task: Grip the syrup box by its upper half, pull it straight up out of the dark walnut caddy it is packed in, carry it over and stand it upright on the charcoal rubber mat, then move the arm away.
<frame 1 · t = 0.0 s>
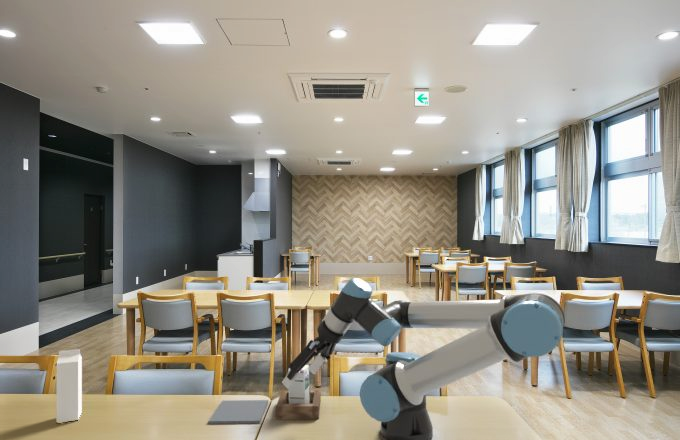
hand: (299, 378, 131), 15 cm above the table, tool tilted 35°, fingers open, 13 cm apart
syrup box: (299, 410, 145), resting in walnut caddy
milk: (69, 419, 139), on the table
walnut caddy: (299, 410, 145), on the table
charcoal mat: (240, 412, 143), on the table
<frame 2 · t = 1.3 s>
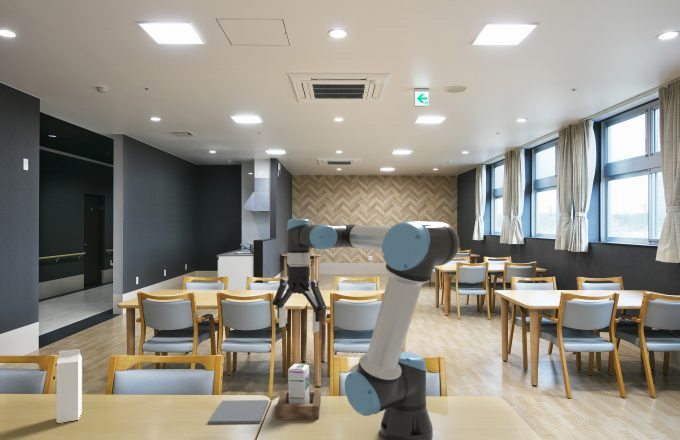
hand: (298, 329, 145), 27 cm above the table, tool pointing down, fingers open, 13 cm apart
nothing on the table moved.
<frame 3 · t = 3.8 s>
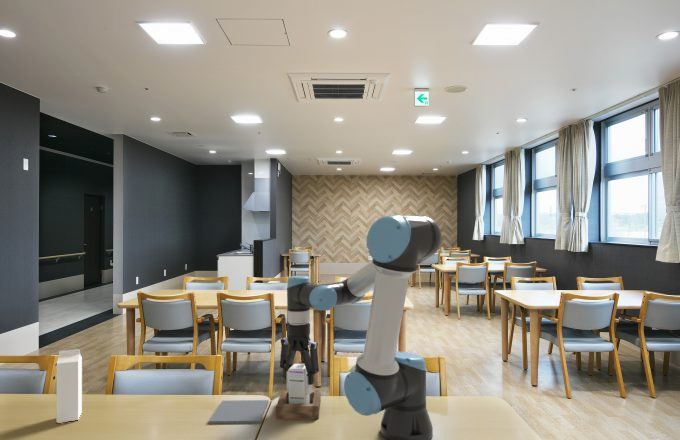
hand: (299, 391, 145), 6 cm above the table, tool pointing down, fingers closed on syrup box, 7 cm apart
syrup box: (299, 410, 145), resting in walnut caddy, touching gripper
everything else where it was.
when the fingers open (8 cm above the table, at t = 10.5 s): syrup box drops 1 cm, resting on charcoal mat.
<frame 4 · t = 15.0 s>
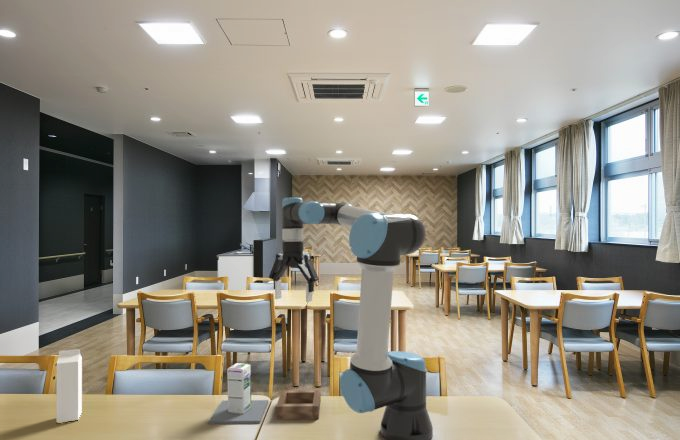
hand: (293, 300, 156), 35 cm above the table, tool pointing down, fingers open, 13 cm apart
syrup box: (239, 410, 143), point 1 cm above the table, touching charcoal mat
everything else where it was.
at the end: syrup box inside the target area on the charcoal mat (0.3 cm from its centre), point 0.6 cm above the charcoal mat's base; syrup box tilted 0°; the gripper is holding nothing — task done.
